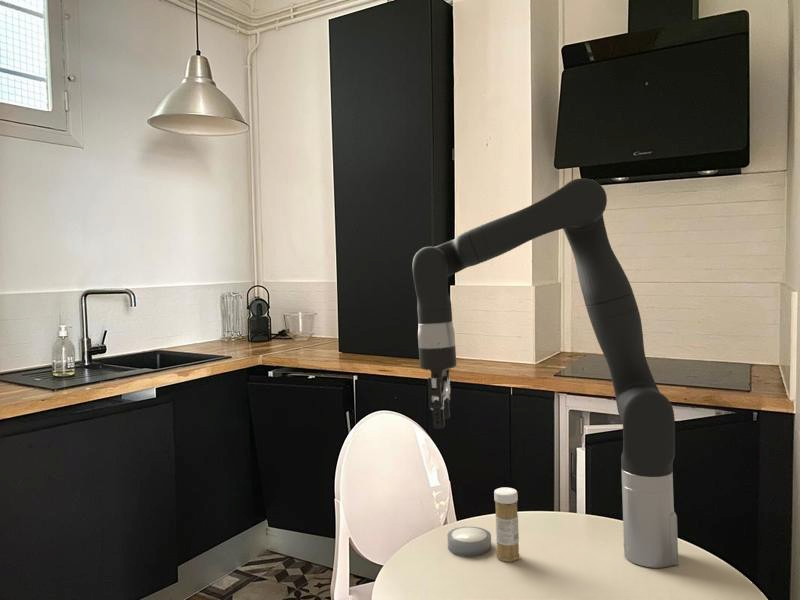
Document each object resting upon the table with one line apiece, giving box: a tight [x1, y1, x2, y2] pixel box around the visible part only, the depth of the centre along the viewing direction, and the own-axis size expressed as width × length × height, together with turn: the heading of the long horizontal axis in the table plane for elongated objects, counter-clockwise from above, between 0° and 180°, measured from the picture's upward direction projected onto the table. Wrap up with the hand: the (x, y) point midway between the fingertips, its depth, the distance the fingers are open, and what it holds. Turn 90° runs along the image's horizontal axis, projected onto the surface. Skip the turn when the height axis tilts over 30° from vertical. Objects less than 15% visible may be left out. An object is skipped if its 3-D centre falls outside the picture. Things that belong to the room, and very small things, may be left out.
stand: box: [446, 526, 492, 558], centre depth 127 cm, size 9×9×3 cm
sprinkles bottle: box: [493, 487, 520, 563], centre depth 121 cm, size 5×5×14 cm
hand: (442, 423), depth 125 cm, fingers open, 8 cm apart
